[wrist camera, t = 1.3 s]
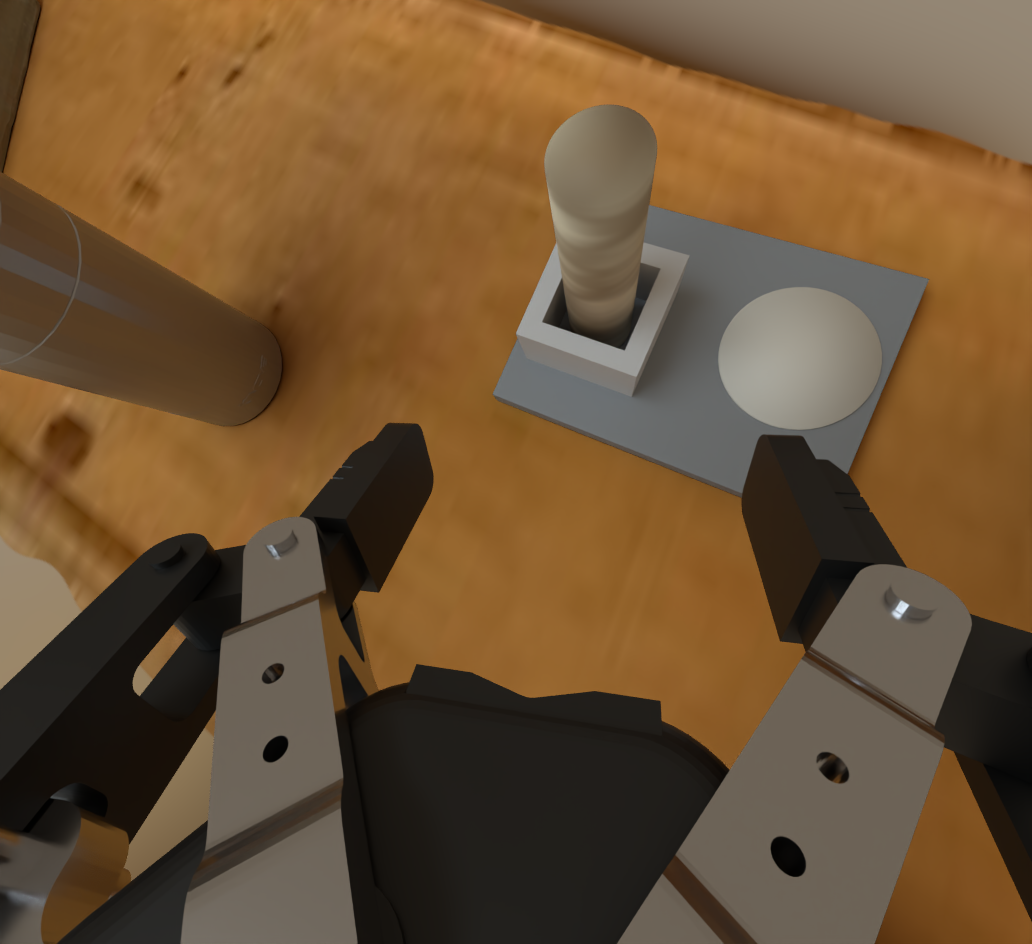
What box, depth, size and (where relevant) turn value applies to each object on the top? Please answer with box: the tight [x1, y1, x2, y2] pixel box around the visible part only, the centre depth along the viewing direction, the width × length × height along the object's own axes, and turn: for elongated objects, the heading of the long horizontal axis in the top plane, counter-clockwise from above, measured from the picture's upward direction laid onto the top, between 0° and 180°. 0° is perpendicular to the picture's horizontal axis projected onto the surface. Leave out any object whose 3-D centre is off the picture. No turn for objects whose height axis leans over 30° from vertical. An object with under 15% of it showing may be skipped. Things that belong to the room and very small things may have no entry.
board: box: [493, 205, 929, 498], centre depth 27 cm, size 22×16×6 cm
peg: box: [544, 105, 657, 348], centre depth 23 cm, size 4×4×14 cm
